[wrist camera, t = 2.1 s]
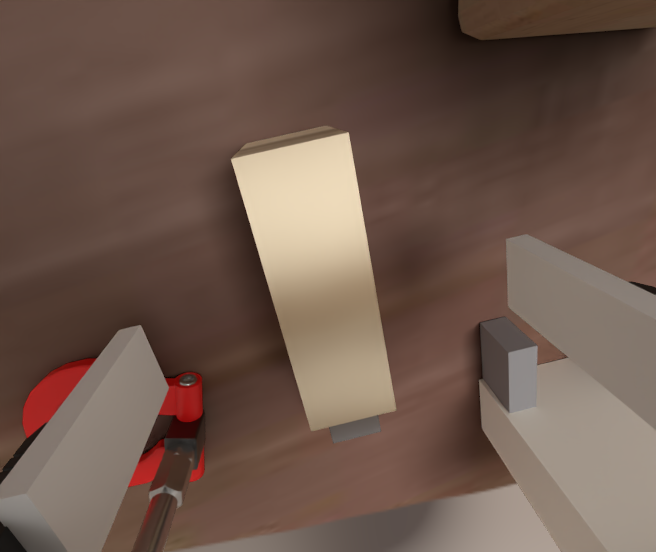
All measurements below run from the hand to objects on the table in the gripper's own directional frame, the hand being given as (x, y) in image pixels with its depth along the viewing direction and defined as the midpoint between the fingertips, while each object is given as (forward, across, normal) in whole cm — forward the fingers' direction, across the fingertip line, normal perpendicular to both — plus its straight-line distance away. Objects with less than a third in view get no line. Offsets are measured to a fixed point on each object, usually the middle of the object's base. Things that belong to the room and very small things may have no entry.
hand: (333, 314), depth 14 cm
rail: (+6, 0, -1) cm, 6 cm away
